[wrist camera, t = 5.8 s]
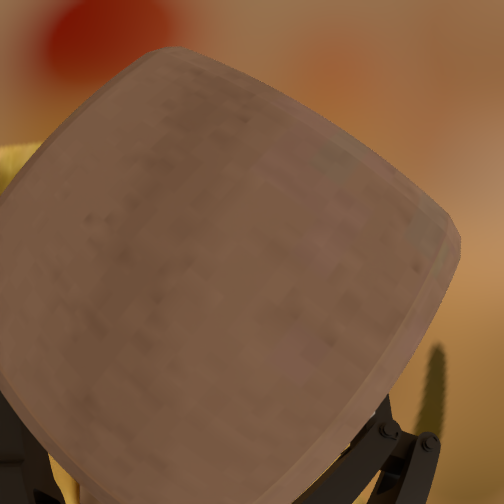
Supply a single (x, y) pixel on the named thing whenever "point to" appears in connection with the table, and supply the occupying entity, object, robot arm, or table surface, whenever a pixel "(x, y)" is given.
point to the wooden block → (209, 287)
